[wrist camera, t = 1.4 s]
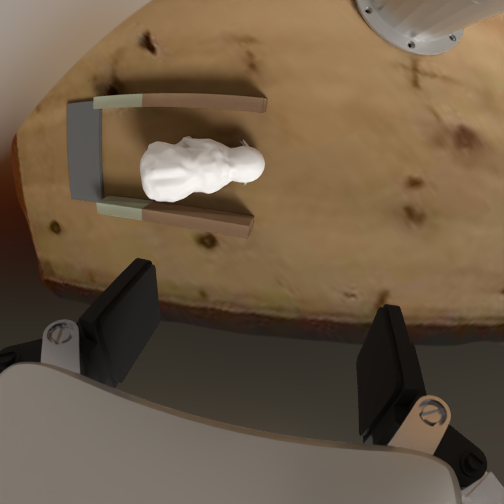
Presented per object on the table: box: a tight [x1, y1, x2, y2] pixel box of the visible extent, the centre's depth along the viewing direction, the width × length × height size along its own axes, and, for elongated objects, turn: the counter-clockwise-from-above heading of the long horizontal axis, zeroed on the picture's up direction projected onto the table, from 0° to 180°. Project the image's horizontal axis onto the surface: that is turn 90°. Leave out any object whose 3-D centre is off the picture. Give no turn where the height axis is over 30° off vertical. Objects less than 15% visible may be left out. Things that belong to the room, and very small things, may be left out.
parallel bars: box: [93, 93, 267, 239], centre depth 33 cm, size 15×20×3 cm
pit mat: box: [67, 101, 104, 202], centre depth 35 cm, size 14×6×1 cm, turn 174°
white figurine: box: [140, 136, 265, 202], centre depth 30 cm, size 6×8×12 cm
